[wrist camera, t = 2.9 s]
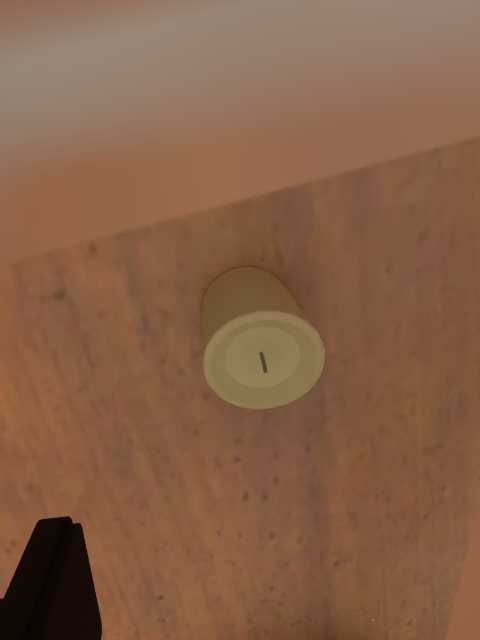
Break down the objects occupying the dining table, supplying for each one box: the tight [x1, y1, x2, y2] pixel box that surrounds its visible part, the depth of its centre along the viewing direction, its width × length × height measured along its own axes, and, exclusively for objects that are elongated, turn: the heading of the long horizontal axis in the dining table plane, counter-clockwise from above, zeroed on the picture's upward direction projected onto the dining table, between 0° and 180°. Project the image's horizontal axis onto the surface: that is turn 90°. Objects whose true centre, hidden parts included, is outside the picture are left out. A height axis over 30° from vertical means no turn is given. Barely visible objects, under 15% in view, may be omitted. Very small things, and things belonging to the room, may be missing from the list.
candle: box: [202, 267, 326, 409], centre depth 22 cm, size 5×5×8 cm
